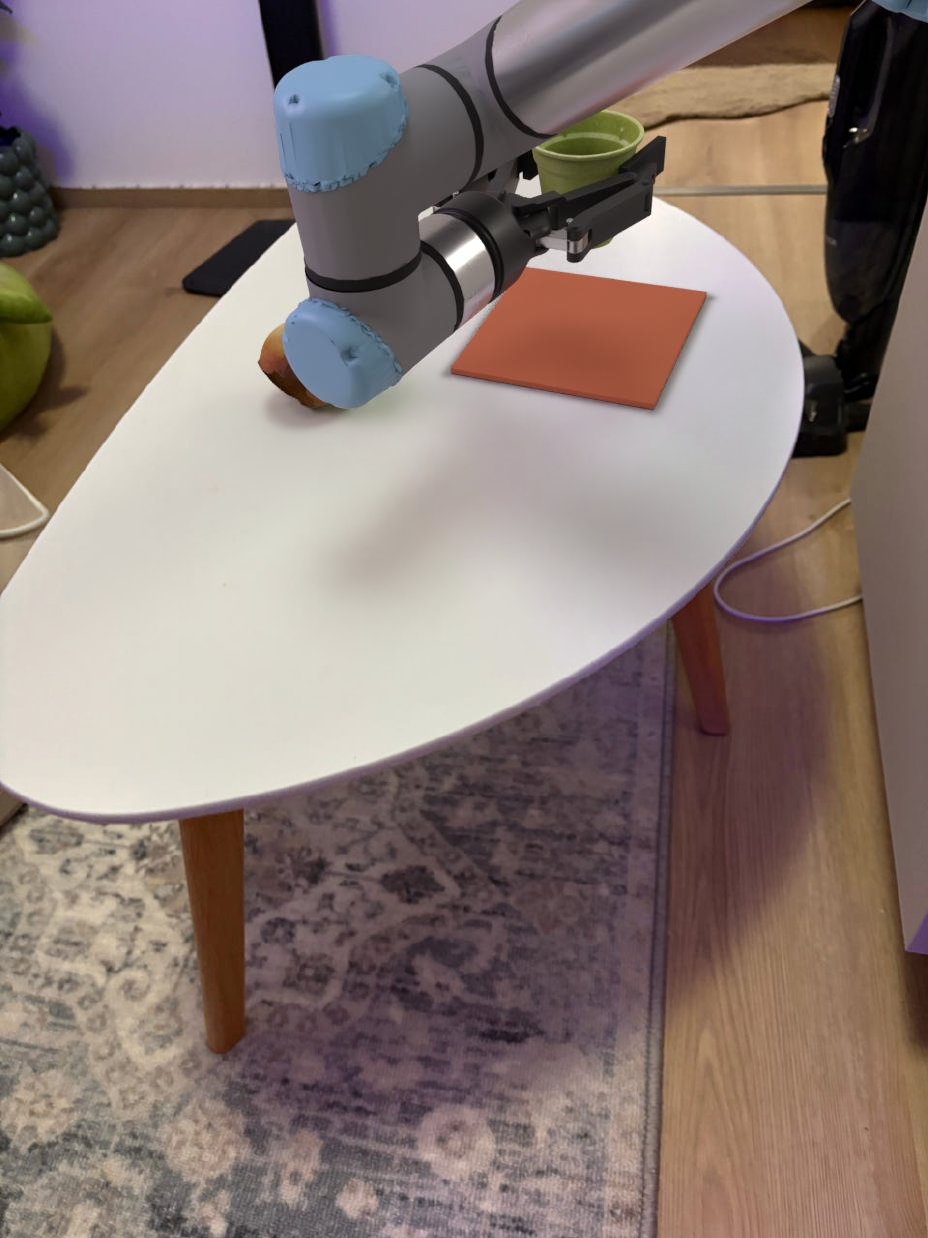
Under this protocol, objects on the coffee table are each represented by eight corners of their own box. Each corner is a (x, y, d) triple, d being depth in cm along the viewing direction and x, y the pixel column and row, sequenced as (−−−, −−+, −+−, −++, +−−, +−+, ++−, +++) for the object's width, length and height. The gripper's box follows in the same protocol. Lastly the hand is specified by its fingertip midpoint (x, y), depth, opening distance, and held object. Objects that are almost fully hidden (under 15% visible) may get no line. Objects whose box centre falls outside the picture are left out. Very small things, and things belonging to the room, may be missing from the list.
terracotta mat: (706, 296, 96) (706, 291, 96) (653, 409, 85) (653, 404, 84) (523, 271, 102) (523, 266, 102) (450, 373, 91) (450, 367, 90)
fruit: (343, 427, 86) (327, 351, 80) (258, 423, 88) (236, 348, 82) (363, 379, 91) (349, 304, 85) (282, 376, 93) (263, 302, 87)
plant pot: (609, 201, 86) (613, 99, 79) (655, 246, 80) (664, 140, 73) (513, 224, 84) (509, 122, 78) (553, 271, 78) (552, 165, 72)
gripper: (355, 275, 76) (510, 164, 87) (582, 346, 67) (722, 212, 78) (338, 182, 70) (507, 76, 82) (583, 245, 61) (735, 116, 73)
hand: (612, 143), depth 80 cm, fingers closed on plant pot, 8 cm apart
